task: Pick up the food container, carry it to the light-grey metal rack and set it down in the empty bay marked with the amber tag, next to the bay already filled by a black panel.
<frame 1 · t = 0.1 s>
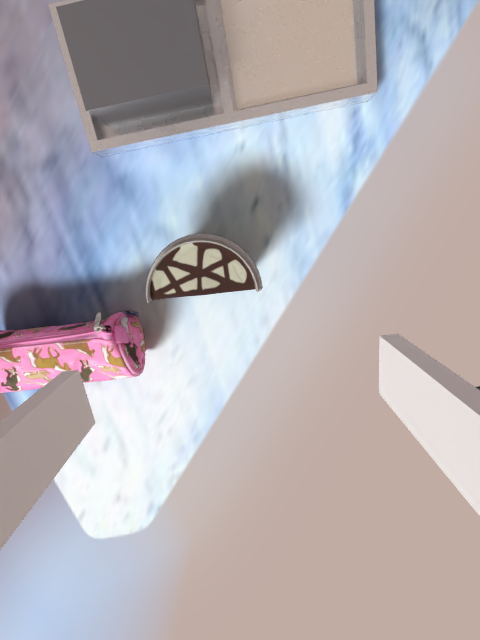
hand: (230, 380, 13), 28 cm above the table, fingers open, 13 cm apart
occupied bay panel: (150, 73, 32), resting on rack
food container: (209, 256, 39), on the table
rack: (220, 62, 33), on the table
pencil case: (76, 339, 43), on the table
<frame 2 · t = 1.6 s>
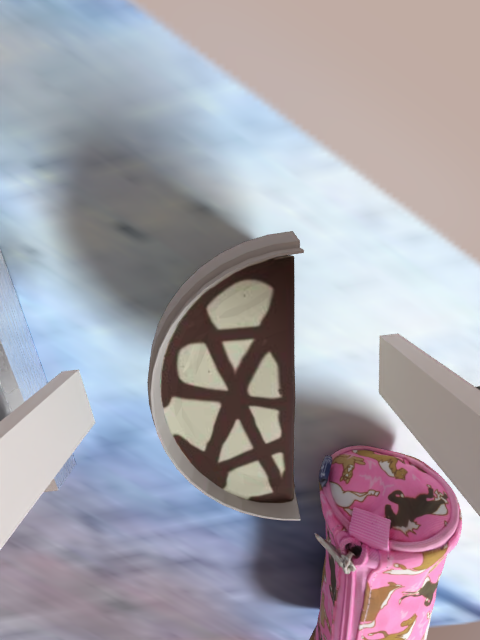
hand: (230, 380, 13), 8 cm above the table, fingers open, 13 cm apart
food container: (227, 324, 21), on the table
pencil case: (348, 533, 27), on the table
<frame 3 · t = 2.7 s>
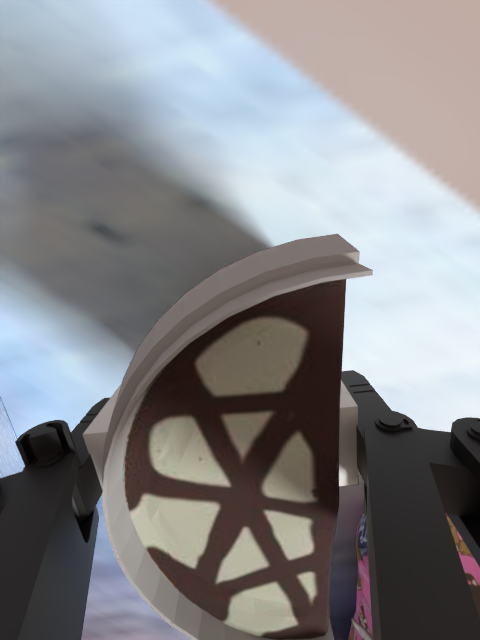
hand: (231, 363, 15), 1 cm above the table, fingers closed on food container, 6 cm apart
food container: (231, 349, 17), on the table, touching gripper
pencil case: (375, 594, 23), on the table
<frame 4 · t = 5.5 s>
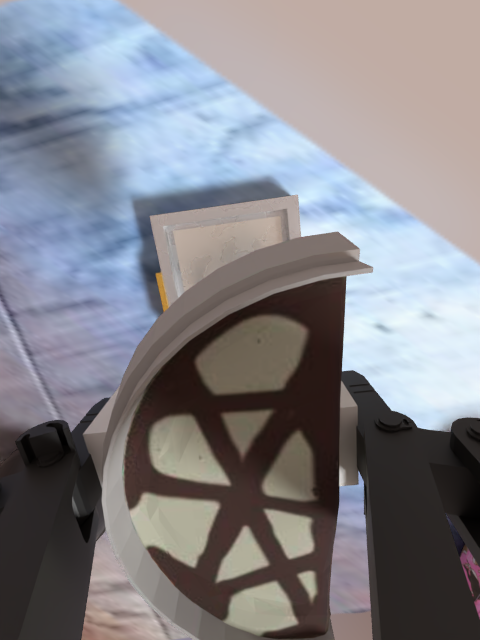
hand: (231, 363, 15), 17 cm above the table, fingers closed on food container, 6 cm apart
food container: (231, 349, 17), point 15 cm above the table, touching gripper
rack: (245, 356, 33), on the table
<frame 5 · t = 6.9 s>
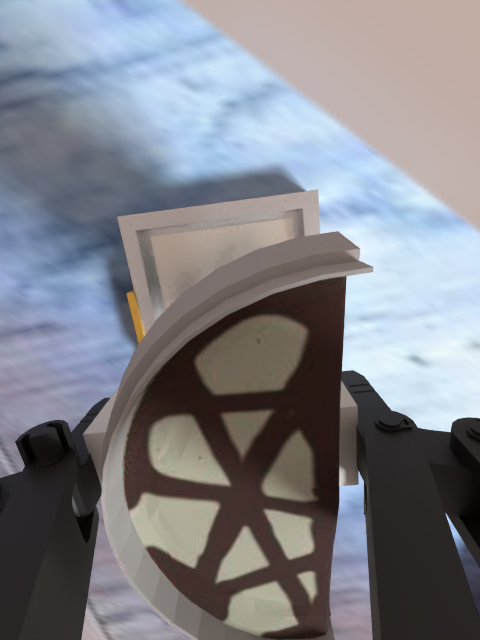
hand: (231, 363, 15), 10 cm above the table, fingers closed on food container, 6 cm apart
food container: (231, 349, 16), point 8 cm above the table, touching gripper
rack: (244, 394, 26), on the table
when the fingers open (4 cm above the table, at t = 8.2 s): food container drops 2 cm, resting on rack.
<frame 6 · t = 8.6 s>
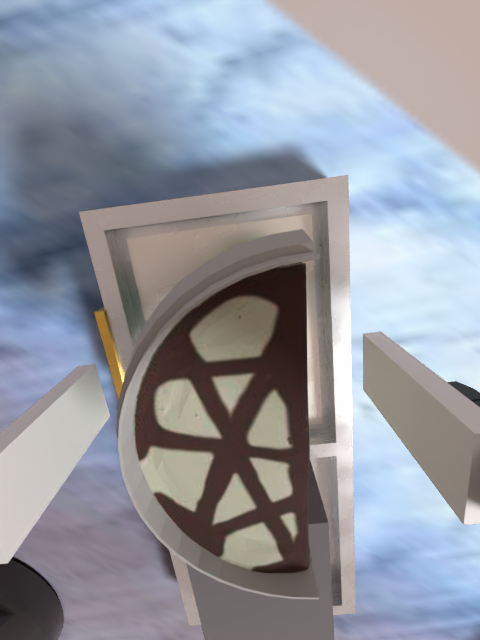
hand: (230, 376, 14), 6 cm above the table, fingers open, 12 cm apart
occupied bay panel: (259, 524, 23), resting on rack
food container: (226, 338, 18), point 1 cm above the table, touching rack
rack: (247, 431, 21), on the table
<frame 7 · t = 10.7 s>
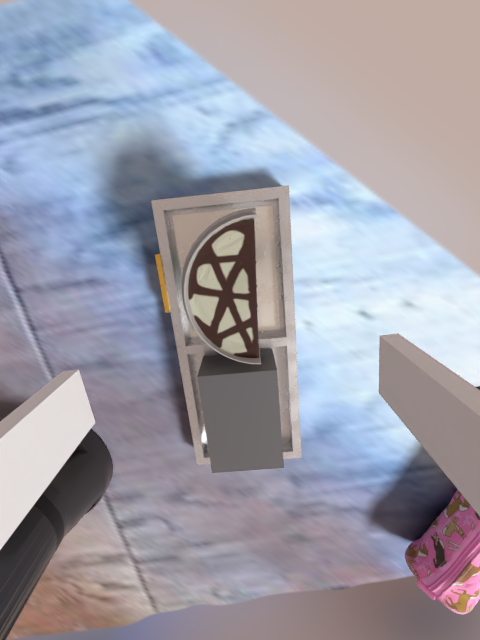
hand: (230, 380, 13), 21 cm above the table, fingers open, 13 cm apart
occupied bay panel: (242, 398, 37), resting on rack
food container: (225, 275, 32), point 1 cm above the table, touching rack
rack: (236, 337, 35), on the table
pencil case: (454, 495, 42), on the table
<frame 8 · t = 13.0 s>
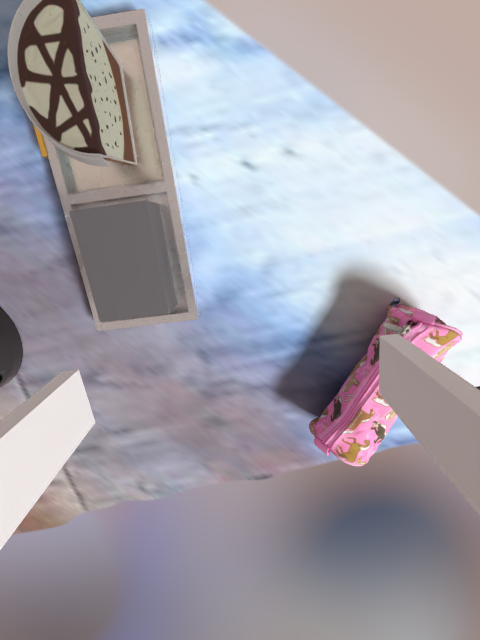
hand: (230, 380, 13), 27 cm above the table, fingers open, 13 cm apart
occupied bay panel: (137, 259, 37), resting on rack
food container: (102, 120, 33), point 1 cm above the table, touching rack
rack: (125, 195, 36), on the table
pencil case: (364, 369, 43), on the table
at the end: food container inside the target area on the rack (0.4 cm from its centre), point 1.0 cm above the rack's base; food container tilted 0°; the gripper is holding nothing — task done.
